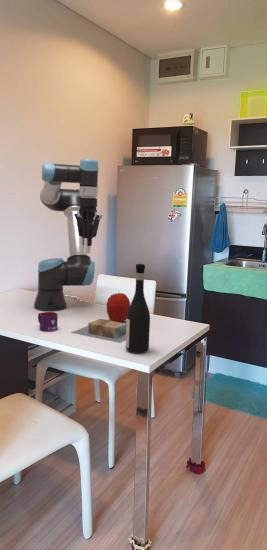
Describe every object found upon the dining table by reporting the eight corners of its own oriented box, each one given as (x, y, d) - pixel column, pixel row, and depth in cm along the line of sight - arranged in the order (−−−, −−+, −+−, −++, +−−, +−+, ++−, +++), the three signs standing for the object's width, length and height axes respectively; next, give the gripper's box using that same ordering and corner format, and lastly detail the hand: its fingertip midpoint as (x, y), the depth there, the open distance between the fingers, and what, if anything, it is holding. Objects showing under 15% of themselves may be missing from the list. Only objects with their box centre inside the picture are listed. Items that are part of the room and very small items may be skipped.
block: (88, 323, 163) (115, 328, 158) (100, 318, 170) (126, 323, 165) (88, 333, 164) (115, 338, 158) (99, 328, 171) (125, 333, 165)
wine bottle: (121, 351, 146) (125, 264, 141) (130, 345, 153) (133, 262, 149) (144, 355, 143) (148, 266, 139) (151, 348, 151) (155, 263, 146)
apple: (119, 318, 190) (120, 287, 188) (134, 323, 183) (135, 291, 181) (100, 321, 183) (101, 289, 181) (116, 327, 176) (117, 293, 174)
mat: (70, 333, 164) (70, 332, 164) (91, 325, 176) (91, 324, 176) (120, 344, 154) (120, 342, 154) (138, 335, 166) (138, 333, 166)
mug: (45, 334, 163) (45, 316, 162) (32, 328, 170) (32, 311, 169) (60, 331, 167) (60, 314, 166) (47, 325, 175) (48, 309, 173)
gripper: (70, 196, 179) (69, 252, 183) (95, 197, 173) (94, 255, 177) (81, 197, 186) (80, 251, 190) (106, 198, 179) (104, 254, 183)
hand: (86, 253), depth 183 cm, fingers closed
